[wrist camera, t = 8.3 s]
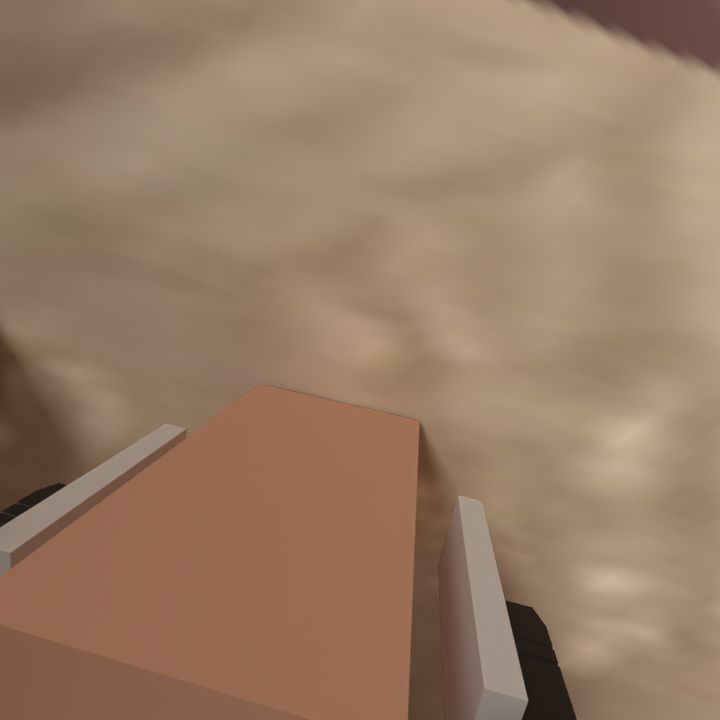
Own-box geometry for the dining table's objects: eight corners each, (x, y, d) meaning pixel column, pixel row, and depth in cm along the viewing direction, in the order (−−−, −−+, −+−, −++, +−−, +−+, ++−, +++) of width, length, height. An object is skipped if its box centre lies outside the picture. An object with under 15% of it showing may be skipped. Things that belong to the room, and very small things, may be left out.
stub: (259, 383, 16) (-63, 622, 6) (419, 420, 16) (406, 768, 5) (243, 502, 18) (-49, 887, 7) (391, 540, 17) (330, 1027, 6)
